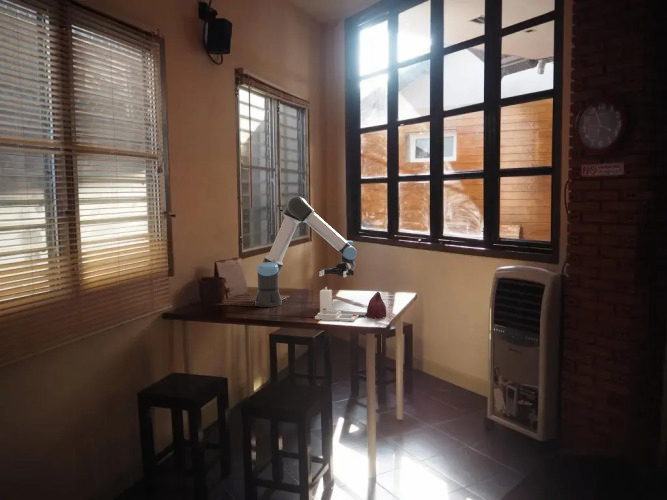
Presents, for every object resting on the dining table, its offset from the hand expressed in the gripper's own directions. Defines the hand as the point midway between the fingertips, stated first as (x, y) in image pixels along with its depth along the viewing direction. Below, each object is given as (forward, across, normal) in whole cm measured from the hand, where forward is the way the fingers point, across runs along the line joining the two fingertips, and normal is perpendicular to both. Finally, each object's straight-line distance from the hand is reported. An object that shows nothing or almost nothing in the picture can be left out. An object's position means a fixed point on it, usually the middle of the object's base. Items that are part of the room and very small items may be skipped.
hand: (331, 274), depth 276 cm
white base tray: (+20, -9, -19) cm, 29 cm away
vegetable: (+10, -27, -19) cm, 34 cm away
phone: (+11, -15, -19) cm, 26 cm away
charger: (+10, 0, -19) cm, 21 cm away
